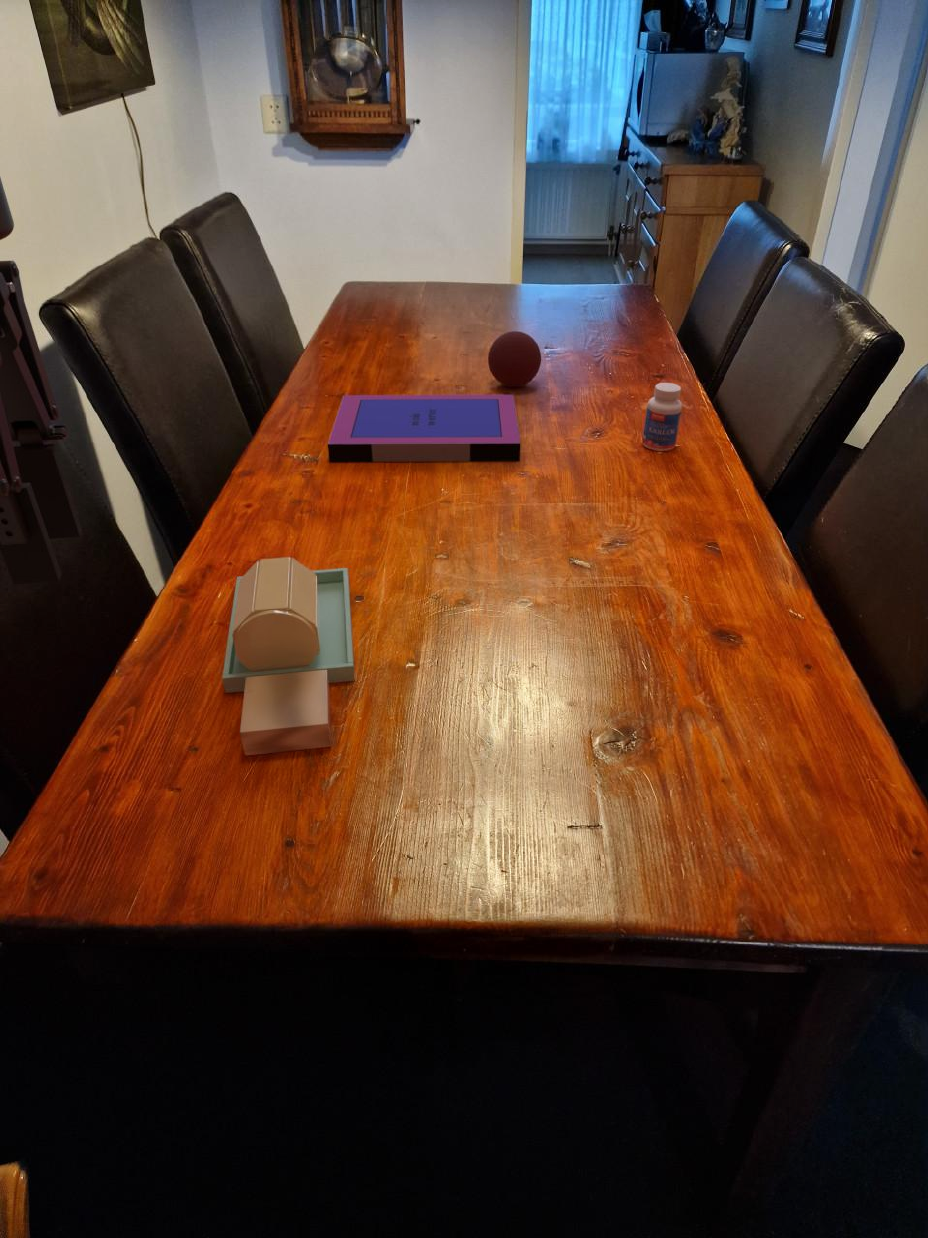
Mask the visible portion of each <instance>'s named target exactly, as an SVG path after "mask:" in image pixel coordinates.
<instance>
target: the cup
mask: <svg viewBox="0 0 928 1238" xmlns="http://www.w3.org/2000/svg"><path fill="white" fill-rule="evenodd" d="M313 571H314V570H311V569H310V568H309V567H307V566H305V565H304V564H302V563H301V562H300V561H298V560H297V559H296V558H294V557H290V556H287V557H284V556H283V557H275V558H274V557H273V558H261V559H259V560H257V561H256V562H255V563H254V564H253V565H252V566H251V567H250V568H249V569H248V570H247V571H246V572H245V574H243V575H242V576H243V577H242V578H241V579H240V582H239V588H238V595H237V602H236V609H235V616H234V623H233V630H232V637H233V641H234V646H235V651H236V655H237V659H239V661H240V662H242V664H243V665H244V666H245V667H247V668H248V669H249V670H251V671H252V672H259V671H269V670H280V669H291V668H301V667H308V666H309V665H310V664H311V663H312V662H313V660H314V659H315V657H316V656H317V655H318V654H319V651H320V595H319V587H318V579H317V575H316V573H314V572H313Z"/></svg>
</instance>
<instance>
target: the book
mask: <svg viewBox="0 0 928 1238" xmlns="http://www.w3.org/2000/svg"><path fill="white" fill-rule="evenodd" d="M520 437H521V436H520V429H519V423H518V417H517V410H516V403H515V396H514V394H399V395H398V394H376V395H375V394H365V395H364V394H357V395H356V394H355V395H353V394H352V395H351V394H349V395H347V394H344V395H342V398H341V402H340V405H339V408H338V410H337V414H336V417H335V420H334V423H333V426H332V429H331V432H330V435H329V438H328V441H327V452H328V461H329V462H328V463H389V462H390V463H397V462H398V463H404V462H405V463H407V462H410V463H413V462H415V463H417V462H420V463H422V462H423V463H424V462H425V463H426V462H429V463H430V462H434V463H435V462H437V463H438V462H439V463H440V462H441V463H442V462H521V438H520Z"/></svg>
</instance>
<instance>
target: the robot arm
mask: <svg viewBox="0 0 928 1238" xmlns="http://www.w3.org/2000/svg"><path fill="white" fill-rule="evenodd" d="M2 181H3V180H2V179H1V177H0V241H1V240H4V239H6V238H7V237H9V236H10V235H11V234H12V233H13V230H14V228H15V221H14V219H13V214H12V211H11V208H10V205H9V201H8V199H7V195H6V191H5V188H4V185H3V182H2ZM21 281H22V280H21V276H20V270H19V268H18V265H17V264H16V262H15V261H14V260H0V553H1V555H2V558H3V560H4V563H5V565H6V568H7V571H8V574H9V576H10V578H11V581H12V583H13V586H14V585H27V584H40V583H53V582H60V579H61V578H62V574H63V573H62V572H61V569H60V565H59V562H58V560H57V557H56V553H55V551H54V548H53V545H52V542H51V540H52V539H53V540H55V539H69V538H80V537H81V535H82V533H83V529H82V525H81V524H80V520H79V516H78V514H77V513H78V512H77V511H76V507H75V504H74V501H73V498H72V495H71V491H70V488H69V484H68V482H67V479H66V476H65V472H64V470H63V466H62V463H61V459H60V456H59V454H58V451H57V447H56V444H55V443H51V441H64V440H67V436H68V433H67V427H66V424H53V422H52V421H58V420H59V417H60V410H59V408H58V405H57V402H56V398H55V395H54V392H53V389H52V385H51V382H50V379H49V376H48V373H47V370H46V367H45V363H44V360H43V358H42V355H41V351H40V347H39V343H38V340H37V337H36V334H35V331H34V327H33V324H32V321H31V319H30V315H29V311H28V308H27V306H26V302H25V297H24V292H23V288H22V282H21ZM13 443H19V445H16V446H15V445H14V444H13Z"/></svg>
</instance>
